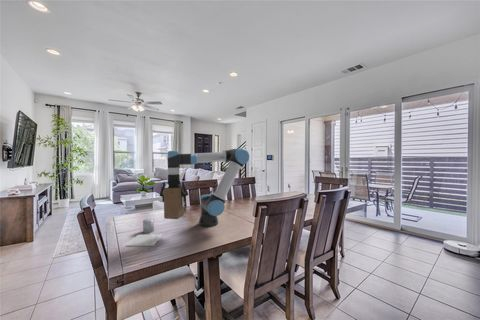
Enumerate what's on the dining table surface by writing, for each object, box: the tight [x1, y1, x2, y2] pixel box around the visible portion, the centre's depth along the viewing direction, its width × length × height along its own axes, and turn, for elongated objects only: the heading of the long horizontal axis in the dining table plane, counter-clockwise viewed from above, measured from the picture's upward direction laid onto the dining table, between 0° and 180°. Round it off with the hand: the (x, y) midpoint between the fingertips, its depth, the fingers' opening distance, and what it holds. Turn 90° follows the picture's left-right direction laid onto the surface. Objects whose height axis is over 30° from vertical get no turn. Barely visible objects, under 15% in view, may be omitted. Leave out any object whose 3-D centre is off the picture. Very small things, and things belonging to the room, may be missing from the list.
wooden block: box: [163, 186, 185, 220], centre depth 136 cm, size 10×10×20 cm
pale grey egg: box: [142, 218, 155, 234], centre depth 144 cm, size 7×7×8 cm
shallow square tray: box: [125, 233, 163, 247], centre depth 129 cm, size 16×16×1 cm
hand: (174, 206), depth 137 cm, fingers closed on wooden block, 11 cm apart
